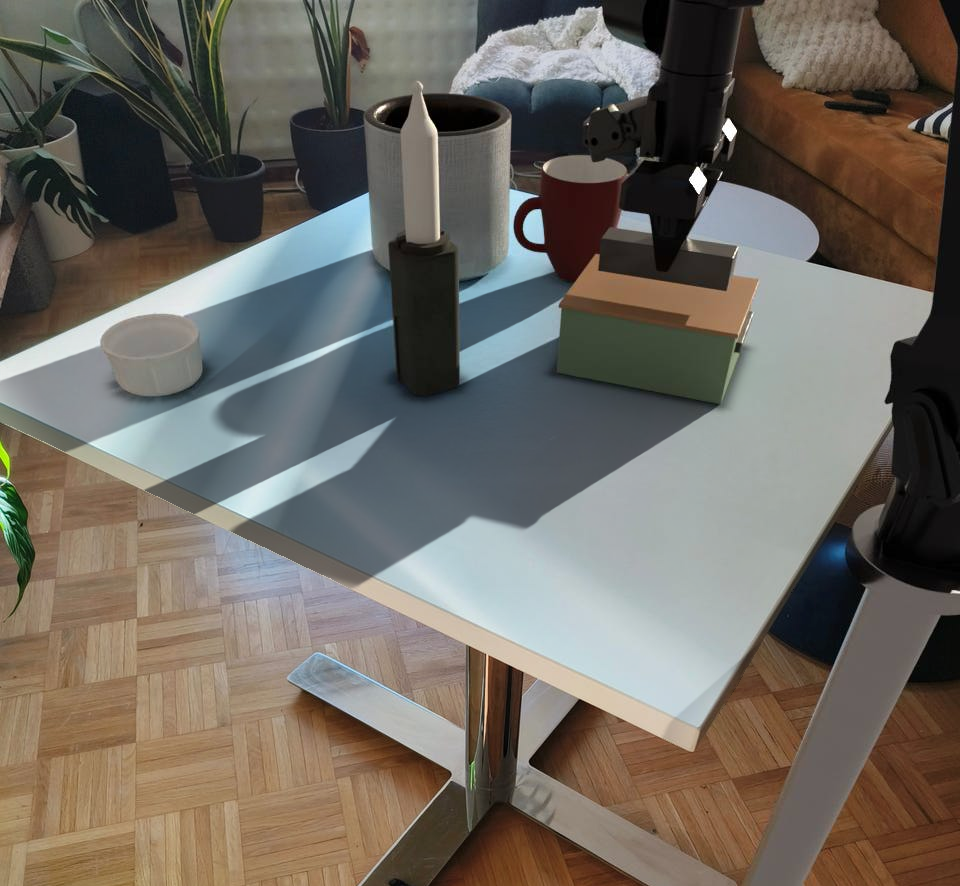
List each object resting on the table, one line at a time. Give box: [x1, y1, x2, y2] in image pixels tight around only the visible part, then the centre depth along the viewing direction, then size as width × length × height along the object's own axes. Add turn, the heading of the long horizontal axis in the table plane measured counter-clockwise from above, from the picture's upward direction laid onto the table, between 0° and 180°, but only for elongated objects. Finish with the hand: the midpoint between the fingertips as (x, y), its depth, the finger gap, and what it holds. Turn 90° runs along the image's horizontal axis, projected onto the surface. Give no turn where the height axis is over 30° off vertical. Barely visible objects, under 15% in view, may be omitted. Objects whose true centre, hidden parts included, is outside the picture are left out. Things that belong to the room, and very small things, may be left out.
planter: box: [363, 92, 512, 282], centre depth 101 cm, size 16×16×16 cm
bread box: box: [556, 254, 760, 405], centre depth 87 cm, size 17×12×7 cm
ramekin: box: [99, 313, 204, 397], centre depth 84 cm, size 9×9×4 cm
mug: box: [513, 154, 628, 283], centre depth 99 cm, size 12×9×11 cm
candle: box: [388, 80, 461, 397], centre depth 77 cm, size 5×5×25 cm
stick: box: [598, 227, 739, 291], centre depth 82 cm, size 12×3×3 cm, turn 69°
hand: (666, 264), depth 82 cm, fingers closed on stick, 3 cm apart
